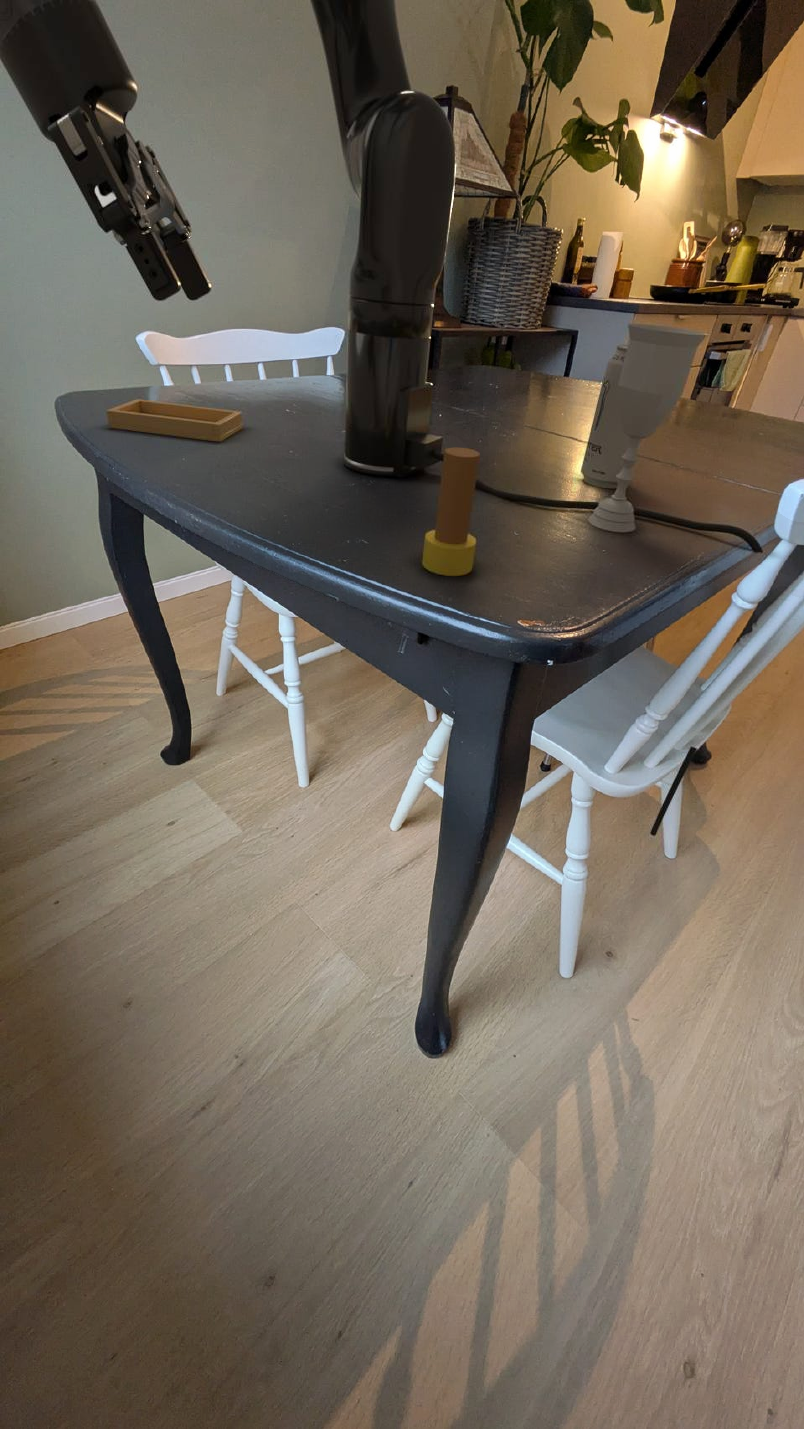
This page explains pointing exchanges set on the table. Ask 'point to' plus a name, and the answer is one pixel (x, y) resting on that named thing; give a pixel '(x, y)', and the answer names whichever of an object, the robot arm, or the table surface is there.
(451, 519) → the peg on yellow base
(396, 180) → the robot arm
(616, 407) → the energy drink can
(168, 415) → the tray
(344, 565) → the table surface
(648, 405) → the chalice
